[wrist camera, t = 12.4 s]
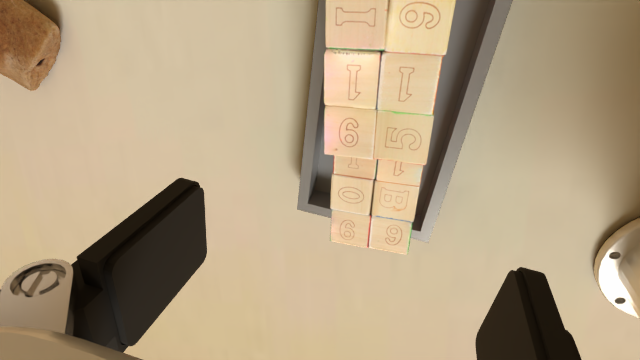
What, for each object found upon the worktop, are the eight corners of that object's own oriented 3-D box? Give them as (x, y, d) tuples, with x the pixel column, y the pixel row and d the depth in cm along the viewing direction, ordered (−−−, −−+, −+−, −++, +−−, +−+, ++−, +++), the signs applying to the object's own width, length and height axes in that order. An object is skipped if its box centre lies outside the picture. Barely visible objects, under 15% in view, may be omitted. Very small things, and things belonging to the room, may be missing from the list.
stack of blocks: (412, 195, 36) (404, 285, 25) (349, 185, 37) (317, 267, 27) (459, -71, 25) (478, -103, 15) (368, -71, 26) (327, -101, 16)
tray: (546, -131, 23) (563, -146, 20) (428, 221, 38) (428, 242, 35) (346, -147, 25) (335, -163, 22) (307, 191, 40) (297, 209, 37)
